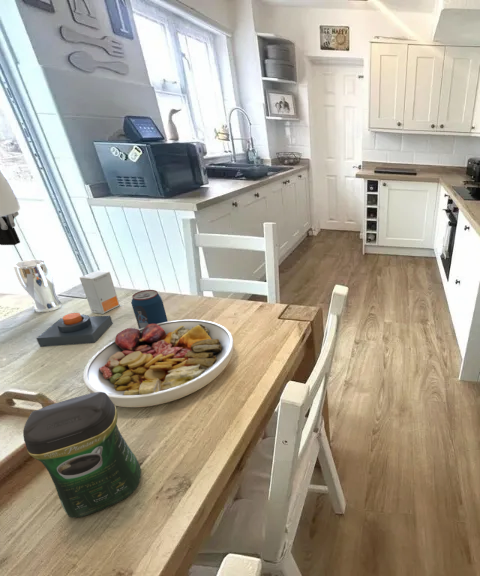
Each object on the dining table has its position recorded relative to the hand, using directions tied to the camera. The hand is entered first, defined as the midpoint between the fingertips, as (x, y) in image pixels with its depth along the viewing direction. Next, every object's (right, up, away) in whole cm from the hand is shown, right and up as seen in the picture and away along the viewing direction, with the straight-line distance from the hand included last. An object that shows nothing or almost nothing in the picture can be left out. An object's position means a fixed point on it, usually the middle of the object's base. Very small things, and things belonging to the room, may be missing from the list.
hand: (10, 243), depth 80 cm
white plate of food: (+40, -31, 0) cm, 50 cm away
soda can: (+27, -24, +14) cm, 38 cm away
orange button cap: (+8, -20, +8) cm, 23 cm away
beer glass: (-12, -17, +20) cm, 29 cm away
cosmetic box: (+5, -18, +22) cm, 29 cm away
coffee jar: (+47, -45, -27) cm, 70 cm away
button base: (+8, -24, +10) cm, 27 cm away
